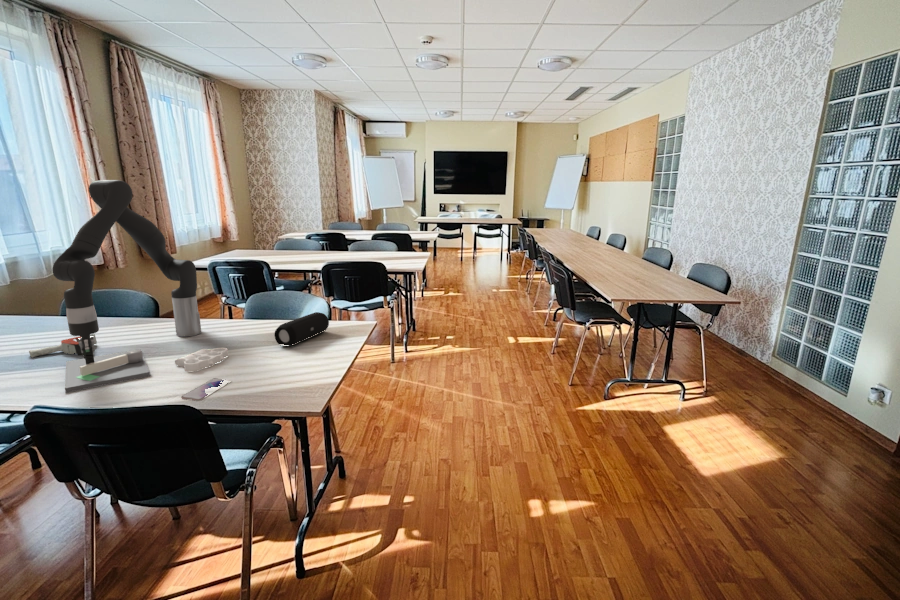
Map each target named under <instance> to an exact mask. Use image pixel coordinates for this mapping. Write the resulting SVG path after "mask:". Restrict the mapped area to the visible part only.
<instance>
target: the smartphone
mask: <svg viewBox="0 0 900 600" xmlns="http://www.w3.org/2000/svg"><path fill="white" fill-rule="evenodd" d="M222 379H223V378H212V379H210V380H208V381H206V382H205V383H202V384H200V385H199V386H197V387H195V388H194V389H192V390H190V391H188V392H186V393H185V394H182V396H181V397H180V399H181V398H182V400H187V399H192V400H191V401H195V400H201V399H203V398H204V397H205V396H207V395H208V394H206V393H205V389H208V388H211V387H218V386H220V385H219V384H222V383H220V382H221V381H222V382H223V381H224V380H222ZM204 399H205V398H204ZM204 399H203V400H204ZM201 401H202V400H201Z"/></svg>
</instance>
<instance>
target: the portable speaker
mask: <svg viewBox="0 0 900 600" xmlns="http://www.w3.org/2000/svg"><path fill="white" fill-rule="evenodd" d="M329 325H330V320H329V318H328V316H327V314H325V313H323V312H316V311H315V312H312V313H310V314H307V315H303V316H301V317H298V318H296V319H293V320H290V321H287V322H285V323H282V324H280V325H279V326H278V327H277V328H276V329H275V330H274V334H273V335H274V339H275V341H276V343H277V344H278V345H279V344H284V345H292V344H295V343H297V342H299V341H302V340H304V339H306V338H308V337H311V336H313V335H315V334H317V333H320V332H322V331H324V330H325V331H326V330H327V329H328V327H329ZM325 331H324V332H325ZM320 334H321V333H320ZM311 338H312V337H311ZM304 341H305V340H304ZM302 342H303V341H302ZM297 344H298V343H297ZM295 345H296V344H295Z"/></svg>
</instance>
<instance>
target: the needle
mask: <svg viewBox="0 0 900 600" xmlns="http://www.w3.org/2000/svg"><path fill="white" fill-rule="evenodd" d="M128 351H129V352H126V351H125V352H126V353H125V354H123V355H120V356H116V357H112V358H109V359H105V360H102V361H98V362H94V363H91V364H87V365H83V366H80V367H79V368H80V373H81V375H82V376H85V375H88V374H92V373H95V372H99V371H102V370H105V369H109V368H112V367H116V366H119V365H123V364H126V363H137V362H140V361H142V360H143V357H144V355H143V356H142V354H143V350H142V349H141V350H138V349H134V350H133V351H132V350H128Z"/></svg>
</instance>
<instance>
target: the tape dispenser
mask: <svg viewBox="0 0 900 600" xmlns="http://www.w3.org/2000/svg"><path fill="white" fill-rule="evenodd" d="M95 334H96V333H94V334H90V337H91V336H93V338H94V345H97V344H98V343H97V338H96V335H95ZM78 338H81V336H74V337H71V338H66V339H61V341H60V344H59V345H55V346H47V347H43V348H41V347H40V348H38V349H29V350H28V353H29V355H30V357H31V358H36V357H38V356H39V357H40V356H45V355H49V354H53V353H57V352H63V353H64V354H67V353H68V354H69V355H77V356H84V355H83V353H82V352H81V347H80V346H79V342H78ZM74 353H75V354H74ZM68 354H67V355H68Z"/></svg>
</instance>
